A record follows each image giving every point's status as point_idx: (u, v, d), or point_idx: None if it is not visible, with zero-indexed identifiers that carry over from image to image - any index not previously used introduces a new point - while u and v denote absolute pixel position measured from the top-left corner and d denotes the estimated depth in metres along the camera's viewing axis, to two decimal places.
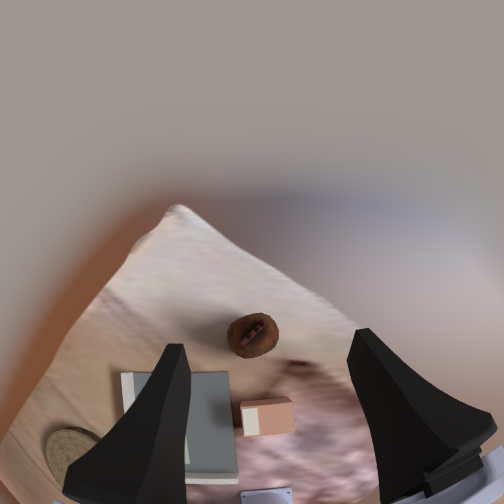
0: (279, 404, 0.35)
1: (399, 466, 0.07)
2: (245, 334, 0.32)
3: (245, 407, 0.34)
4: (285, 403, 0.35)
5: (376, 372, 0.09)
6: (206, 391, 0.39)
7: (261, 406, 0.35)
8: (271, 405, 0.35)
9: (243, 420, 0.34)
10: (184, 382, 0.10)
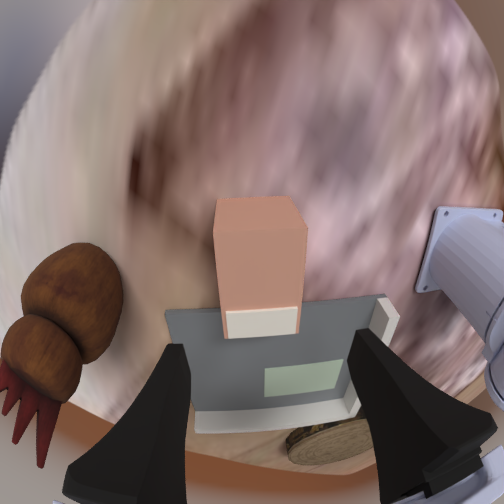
0: (218, 264, 0.14)
1: (399, 466, 0.07)
2: None
3: (225, 330, 0.17)
4: (216, 249, 0.14)
5: (376, 372, 0.09)
6: (207, 343, 0.23)
7: (223, 302, 0.16)
8: (220, 282, 0.15)
9: (257, 335, 0.17)
10: (184, 382, 0.10)
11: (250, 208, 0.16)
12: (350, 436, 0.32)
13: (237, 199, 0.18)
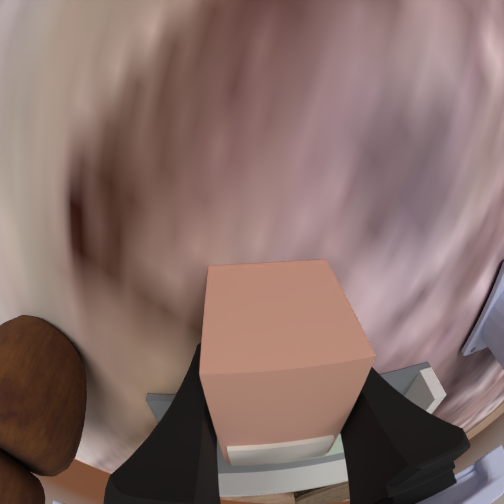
0: (213, 408, 0.07)
1: (366, 477, 0.07)
2: None
3: (227, 457, 0.10)
4: (208, 391, 0.07)
5: None
6: None
7: (222, 440, 0.09)
8: (218, 425, 0.08)
9: (272, 461, 0.10)
10: None
11: (266, 298, 0.09)
12: None
13: (242, 269, 0.11)
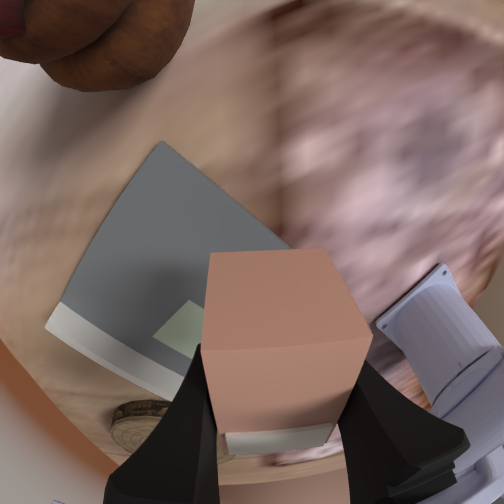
0: (213, 389, 0.08)
1: (366, 477, 0.07)
2: None
3: (225, 446, 0.10)
4: (208, 370, 0.07)
5: None
6: (163, 217, 0.17)
7: (221, 425, 0.09)
8: (217, 408, 0.08)
9: (270, 450, 0.10)
10: None
11: (266, 282, 0.09)
12: None
13: (243, 256, 0.11)
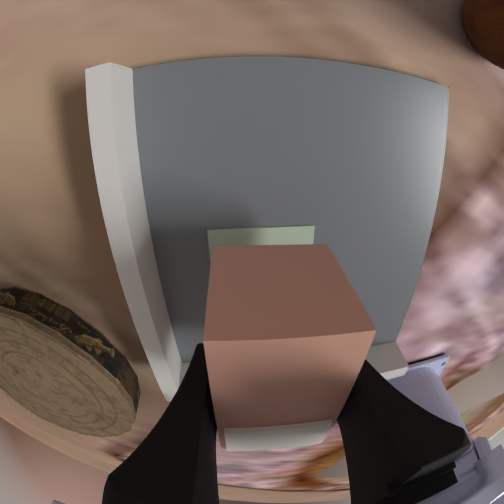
0: (213, 382, 0.08)
1: (367, 477, 0.07)
2: None
3: (222, 442, 0.10)
4: None
5: None
6: (394, 130, 0.11)
7: (220, 420, 0.09)
8: (216, 402, 0.08)
9: (268, 447, 0.10)
10: None
11: (269, 275, 0.09)
12: (81, 398, 0.17)
13: (246, 250, 0.11)
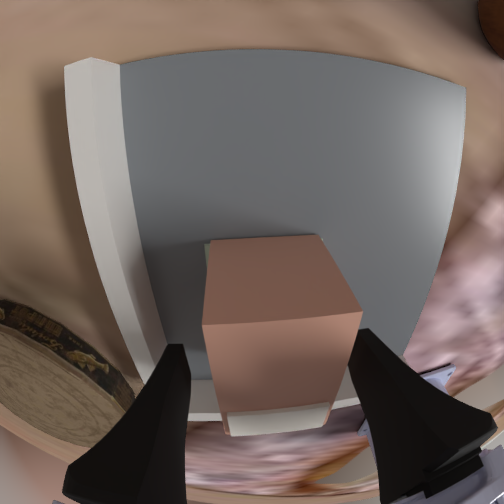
0: (214, 365, 0.08)
1: (399, 466, 0.07)
2: None
3: (226, 427, 0.11)
4: None
5: (376, 372, 0.09)
6: (410, 133, 0.10)
7: (222, 404, 0.10)
8: (218, 385, 0.09)
9: None
10: (184, 382, 0.10)
11: (263, 265, 0.10)
12: (76, 413, 0.15)
13: (241, 242, 0.12)
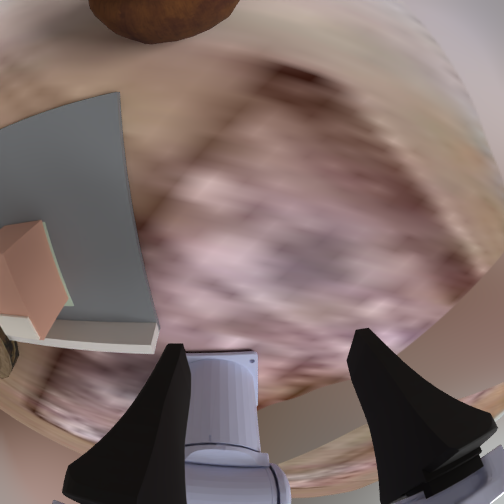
0: None
1: (399, 466, 0.07)
2: None
3: None
4: None
5: (376, 372, 0.09)
6: (73, 147, 0.15)
7: None
8: None
9: (18, 335, 0.15)
10: (184, 382, 0.10)
11: (3, 235, 0.15)
12: None
13: (11, 226, 0.16)
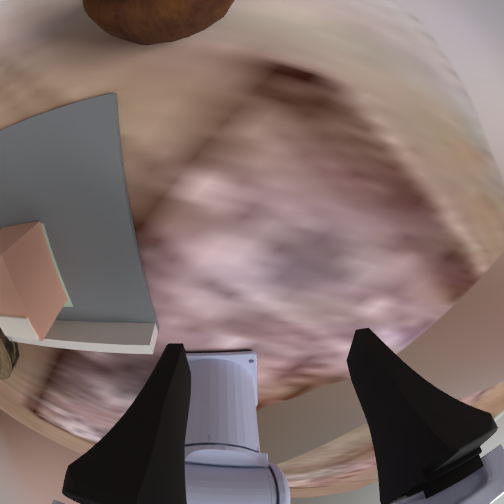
0: None
1: (399, 466, 0.07)
2: None
3: None
4: None
5: (376, 372, 0.09)
6: (70, 148, 0.15)
7: None
8: None
9: (18, 336, 0.15)
10: (184, 382, 0.10)
11: (2, 237, 0.15)
12: None
13: (10, 227, 0.16)
